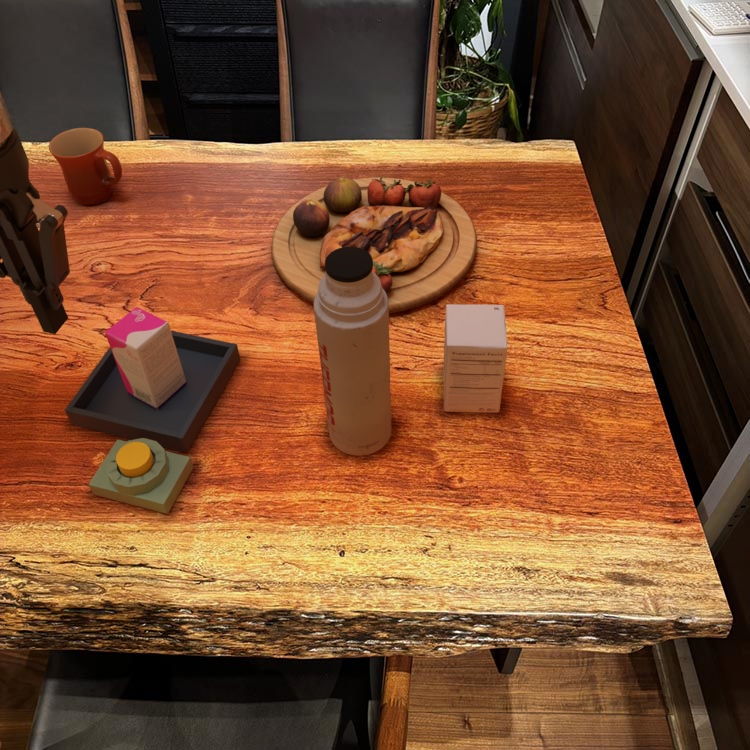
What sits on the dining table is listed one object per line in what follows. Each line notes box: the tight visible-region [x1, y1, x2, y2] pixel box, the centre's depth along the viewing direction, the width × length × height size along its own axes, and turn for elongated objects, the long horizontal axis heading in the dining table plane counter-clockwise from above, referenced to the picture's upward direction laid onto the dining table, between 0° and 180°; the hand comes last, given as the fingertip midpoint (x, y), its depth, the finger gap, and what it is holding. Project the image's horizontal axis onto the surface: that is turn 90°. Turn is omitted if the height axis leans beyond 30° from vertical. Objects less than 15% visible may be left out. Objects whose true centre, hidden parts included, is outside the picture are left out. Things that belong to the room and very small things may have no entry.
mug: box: [48, 127, 123, 206], centre depth 133 cm, size 12×9×10 cm
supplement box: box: [104, 306, 187, 411], centre depth 103 cm, size 6×6×12 cm
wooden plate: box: [270, 176, 478, 314], centre depth 123 cm, size 32×32×8 cm
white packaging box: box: [442, 303, 509, 414], centre depth 101 cm, size 7×7×13 cm
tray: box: [64, 330, 241, 454], centre depth 106 cm, size 17×17×3 cm
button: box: [116, 442, 154, 478], centre depth 94 cm, size 4×4×2 cm
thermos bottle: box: [313, 247, 393, 457], centre depth 91 cm, size 8×8×28 cm
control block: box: [88, 438, 194, 515], centre depth 96 cm, size 10×7×4 cm
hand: (56, 324), depth 89 cm, fingers closed
